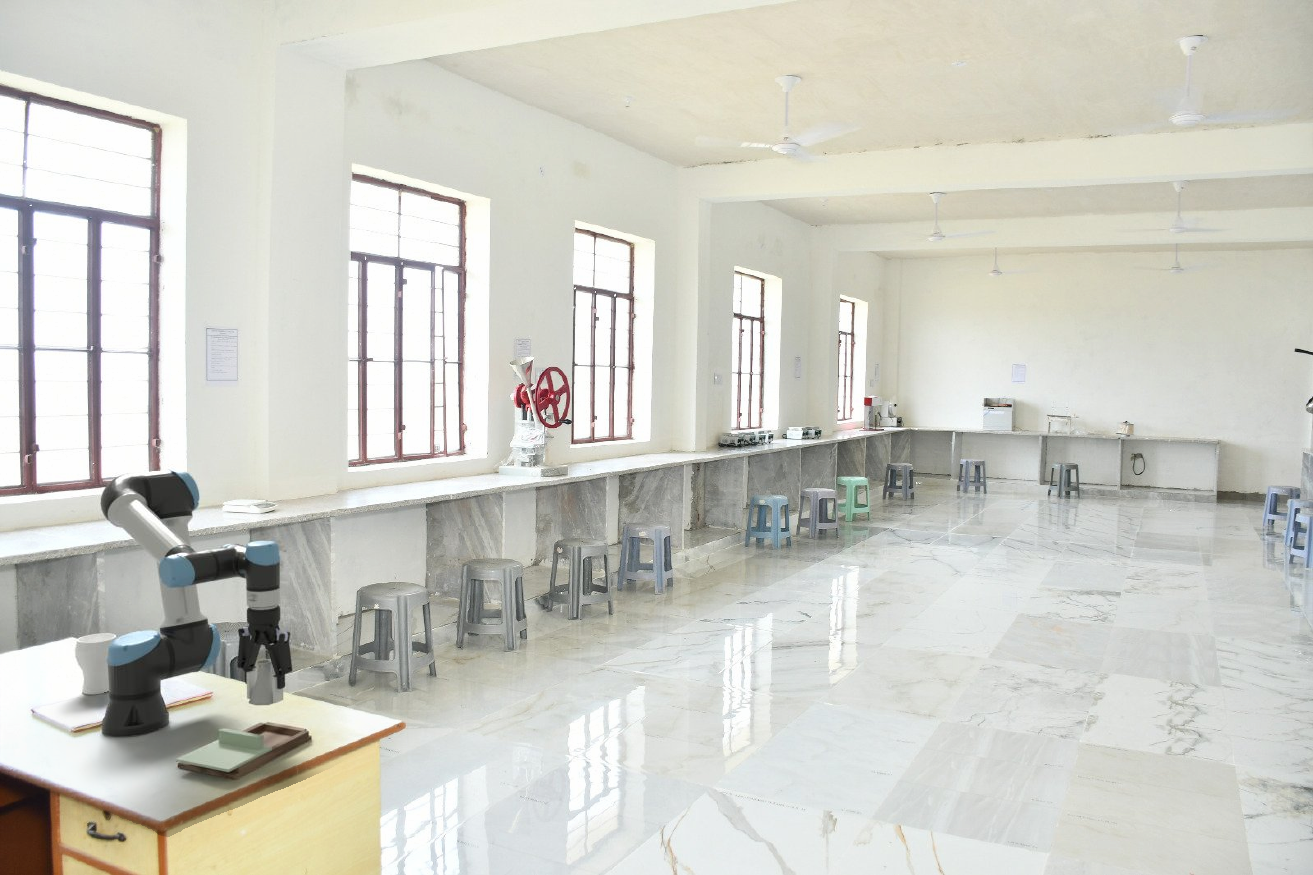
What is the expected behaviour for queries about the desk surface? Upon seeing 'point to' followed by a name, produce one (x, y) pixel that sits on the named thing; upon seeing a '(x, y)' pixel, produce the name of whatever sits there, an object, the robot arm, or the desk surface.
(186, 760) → the cover
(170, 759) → the desk surface
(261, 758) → the tray
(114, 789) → the desk surface
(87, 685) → the cup
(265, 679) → the flask
